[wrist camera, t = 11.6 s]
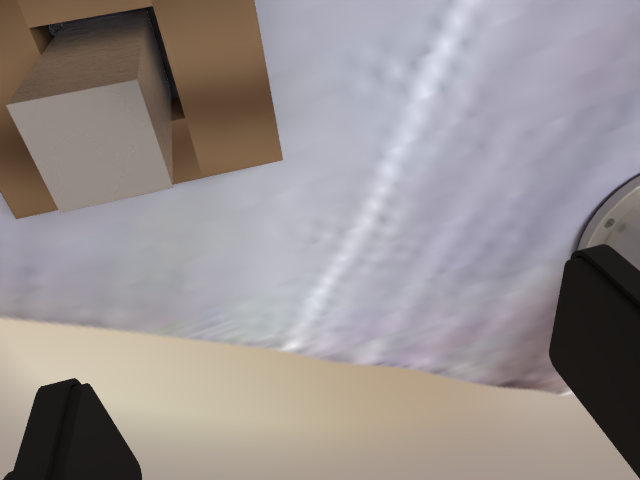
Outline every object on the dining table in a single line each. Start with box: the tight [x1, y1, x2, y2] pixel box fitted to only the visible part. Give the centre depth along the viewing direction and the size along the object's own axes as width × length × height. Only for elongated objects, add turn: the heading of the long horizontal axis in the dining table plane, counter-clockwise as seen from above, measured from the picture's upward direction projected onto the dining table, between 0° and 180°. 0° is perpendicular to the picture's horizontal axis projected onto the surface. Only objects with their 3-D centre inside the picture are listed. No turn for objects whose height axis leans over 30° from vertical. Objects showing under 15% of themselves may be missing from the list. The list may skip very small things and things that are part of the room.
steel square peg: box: [6, 10, 173, 213], centre depth 22 cm, size 4×4×11 cm
